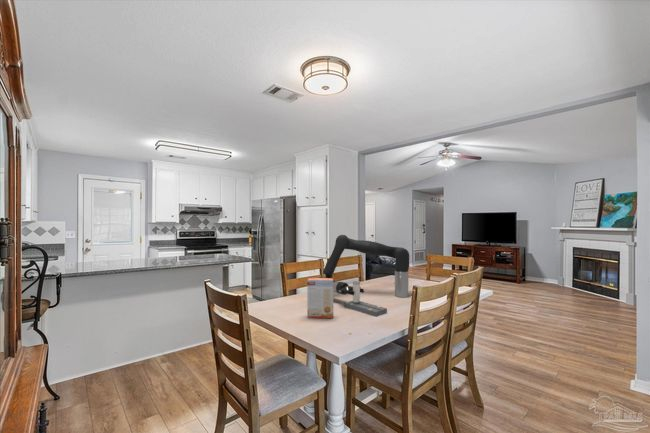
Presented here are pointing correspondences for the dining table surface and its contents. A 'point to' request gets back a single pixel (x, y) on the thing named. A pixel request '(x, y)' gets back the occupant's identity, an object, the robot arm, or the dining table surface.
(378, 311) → the fader console
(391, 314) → the dining table surface
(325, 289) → the cracker box
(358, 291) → the fader tab
